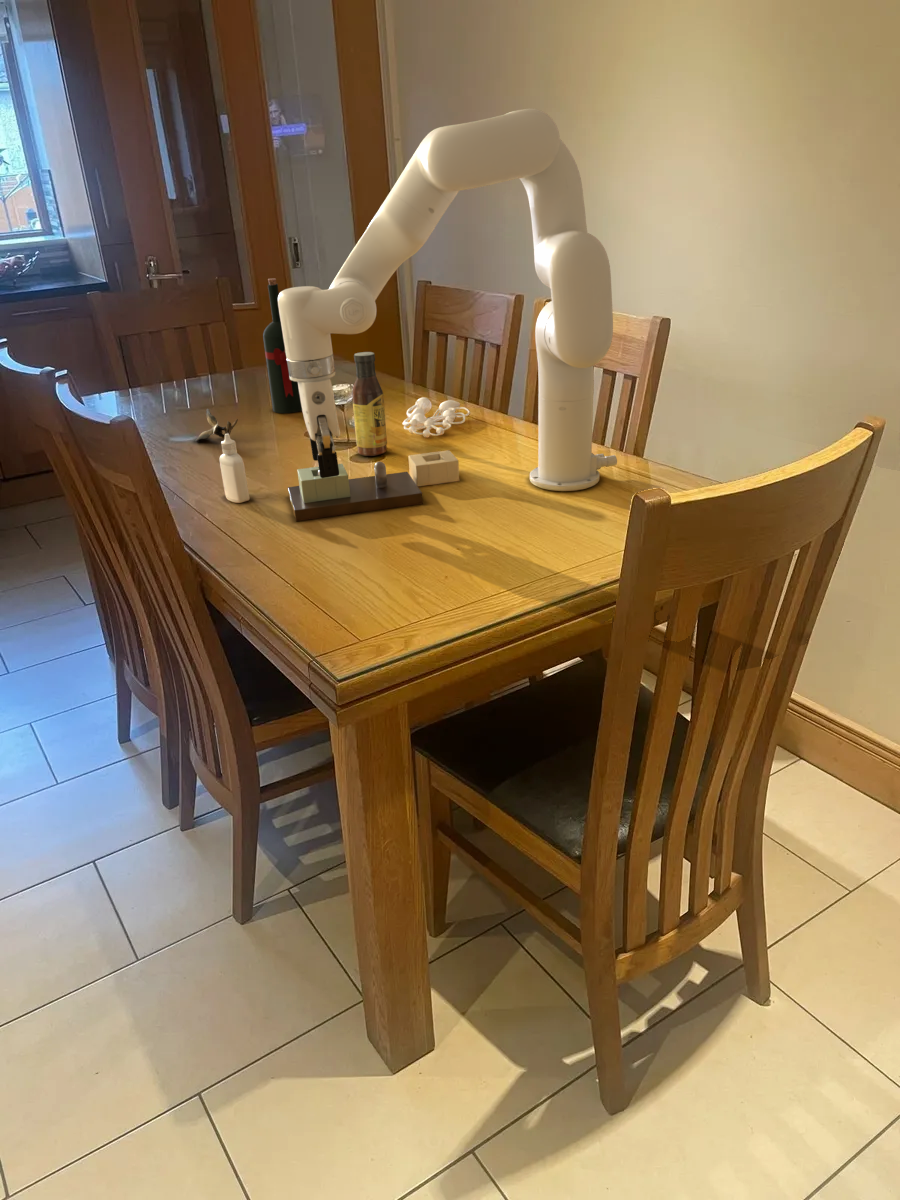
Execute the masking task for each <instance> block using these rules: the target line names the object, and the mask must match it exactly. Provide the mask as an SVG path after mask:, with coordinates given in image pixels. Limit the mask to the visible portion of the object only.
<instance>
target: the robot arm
mask: <svg viewBox="0 0 900 1200" xmlns="http://www.w3.org/2000/svg"><path fill="white" fill-rule="evenodd" d="M517 179H519V181H520V182H521V183H522V185H523V187H524V189H525V192H526V195H527V199H528V203H529V204H528V205H529V206H528V207H529V211H530V218H531V219H530V220H531V230H532V231H531V232H532V241H533V242H532V243H533V259H534V269H535V273H536V275H537V278H538V279H539V281H540V283H542V284H543V285H544V286H546V287H547V288H548V289H550V296H551V297H550V298H551V300H550V301H549V302H548V303H546V304H545V305H544V306H543V307H542V309H541V310H540V312H539V314H538V316H537V319H536V322H535V330H534V331H535V332H534V335H535V336H534V337H535V350H536V357H537V358H536V359H537V372H538V374H537V375H538V377H537V378H538V379H537V380H538V394H537V396H538V401H537V402H538V403H537V404H538V406H537V407H538V408H537V409H538V411H537V412H538V416H537V418H538V419H537V421H538V422H537V426H538V427H537V428H538V429H537V430H538V431H537V432H538V433H537V435H538V438H537V441H538V442H537V443H538V445H537V446H538V447H537V449H538V451H537V453H538V454H537V459H538V460H537V461H538V462H537V463H538V464H537V465H538V466H537V467H535V468H533V469H532V470H531V471H530V472H529V482H530V483H531V484H532V485H534V486H535V487H538V488H539V489H543V490H549V491H556V492H574V491H580V490H585V489H589V488H591V487H594V486H595V485H597V484H598V483H599V482H600V472H599V470H601V468H605V467H606V468H608V467H614V466H617V464H618V458H617V456H616V455H615V454H612V455H605V454H604V453H596V454H594V453H593V450H592V449H593V423H594V421H593V420H594V419H593V418H594V396H595V395H594V393H595V370H594V369H595V368H594V366H595V365H597V364H598V363H600V362H601V361H602V360H604V358H605V357H606V355H607V354H608V353H609V350H610V348H611V346H612V341H613V335H614V314H613V311H614V310H613V295H612V294H613V292H612V275H611V265H610V260H609V257H608V253H607V250H606V248H605V247H604V245H603V243H602V242H601V241H600V240H599V239H598V238H597V237H596V236H594V235H593V234H592V233H589V232H588V226H587V217H586V207H585V198H584V189H583V184H582V178H581V174H580V169H579V167H578V164H577V163H576V160H575V158H574V156H573V154H572V152H571V151H570V150H569V148H568V146H567V145H566V144H565V143H564V141H563V140H562V138H560V130H559V128H558V125H557V123H556V122H555V120H554V119H553V118H552V117H551V116H550V115H549V114H548V113H547V112H545V111H544V110H540V109H538V108H523V109H518V110H512V111H509V112H507V113H505V114H501V115H496V116H493V117H488V118H484V119H479V120H475V121H474V120H473V121H469V122H463V123H457V124H451V125H445V126H440V127H437V128H434V129H433V130H431V131H430V132H428V133H427V135H425V137H424V138H423V139H422V141H421V142H420V143H419V145H418V146H417V148H416V150H415V152H414V153H413V155H412V156H411V158H410V159H409V161H408V162H407V164H406V166H405V168H404V169H403V170H402V172H401V174H400V175H399V177H398V179H397V180H396V182H395V183H394V185H393V187H392V188H391V190H390V192H389V193H388V194H387V196H386V197H385V199H384V201H382V203H381V205H380V207H379V209H378V210H377V212H375V214H374V216H373V217H372V219H371V221H370V222H369V224H368V226H367V227H366V229H365V231H364V233H363V234H362V236H361V237H360V238H359V240H358V241H357V243H355V246H354V247H353V248H352V250H351V252H350V253H349V255H348V257H347V258H346V260H345V261H344V263H343V264H342V266H341V268H340V269H339V271H338V272H337V274H336V276H335V277H334V279H333V280H332V282H331V284H330V286H329V288H328V289H322V288H320V287H317V286H312V285H303V286H295V287H294V286H293V287H289V288H285V289H283V290H281V291H279V295H278V307H279V314H280V320H281V326H282V333H283V339H284V345H285V352H286V357H287V364H288V371H289V377H290V380H292V381H296V382H298V388H299V394H300V400H301V406H302V410H301V412H302V415H303V420H304V423H305V427H306V430H307V433H308V435H309V442H310V448H311V455H312V459H313V461H317V465H318V466H317V467H319V473H320V477H321V478H326V477H333V476H338V475H339V468H338V464H339V462H338V454H337V451H336V447H335V442H334V438H336V439H339V438H340V437H341V432H340V424H339V419H338V413H337V406H336V400H335V395H334V390H333V385H332V380H331V379H332V378H333V377H335V376H336V367H335V366H336V365H335V360H334V352H333V345H332V337H331V334H335V335H337V334H339V335H359V334H362V333H364V332H366V331H368V330H369V328H371V327H372V326H373V324H374V322H375V321H376V317H377V309H378V308H377V304H376V303H377V302H376V300H377V298H378V297H379V295H380V294H381V293H382V291H383V289H384V287H385V286H386V285H387V283H388V281H390V279H391V277H393V274H395V272H396V271H397V270H398V269H399V268H400V266H401V265H402V264H404V263H405V262H406V261H407V260H408V259H410V258H411V257H413V256H414V255H416V254H417V253H418V252H419V251H420V249H421V248H422V247H424V245H425V244H426V243H427V241H428V240H429V238H430V236H431V235H432V233H433V232H434V230H435V228H436V227H437V225H438V223H439V222H440V221H441V218H442V217H443V216H444V215H445V213H446V212H447V209H448V208H449V207H450V205H451V204H452V203H453V201H454V199H456V196H457V195H458V193H459V192H460V191H465V190H471V189H472V190H473V189H477V188H478V189H479V188H482V187H483V188H484V187H487V186H492V185H495V184H496V185H497V184H500V183H505V182H508V181H513V180H517Z"/></svg>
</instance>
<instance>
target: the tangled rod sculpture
mask: <svg viewBox="0 0 900 1200" xmlns="http://www.w3.org/2000/svg"><path fill="white" fill-rule="evenodd" d="M458 410H465V411H466V412H467V413H466V414H465V413H464V412H456V411H458ZM430 411H432V401H431V400H430V399H429V398H428V397H423V396H422V397H420V398H418V399H417V400H416V401H415V404H414V405H412V406H411V407H409V408H408V409H407V410H406V417H407V418H405V419H404V420H403V422H402V426H403V429H404V430H405V431H408V432H409V433H410V434H415V435H419V436H423V437H424V438H427V439H428V438H429V437H430V436H433V437H438V436H443V435H444V433H445V431H447V430H449V429H450V428H452V425H462V424H464V423H465V422H466V417H469V416H470V415H471V411H470V409H468V407H465V406H461V403H460V401H457V400H454V399H448V400H444V401H443V402H441V403H440V404H439V405H438V408H437V409H436V410H435V412H434V413H433V415H432V416H430V417H426V415H427V414H429V412H430ZM456 418H457V419H461V418H462V420H461V421H456ZM408 426H409V427H408ZM438 426H439V427H438ZM432 429H434V430H435V432H436V433H432V432H431V431H430V430H432ZM419 430H423V431H422V432H418V431H419Z"/></svg>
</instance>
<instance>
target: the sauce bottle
mask: <svg viewBox="0 0 900 1200" xmlns="http://www.w3.org/2000/svg"><path fill="white" fill-rule="evenodd" d="M353 359H354V363H355V369H356V373H355V375H356V379H355V382H354V383H353V385H352V389H351V390H352V391H351V393H352V394H351V395H352V411H353V421H354V422H353V423H354V433H355V443H356V447H357V453H358V454H359V455H361V456H364V457H374V456H375V457H376V456H380V455H382V454H385V453H387V448H388V447H387V446H388V435H387V423H386V411H385V409H386V408H385V398H384V397H385V396H384V391H383V389H382V387H381V384H380V382H379V380H378V378H377V372H376V365H375V362H376V355H375V352H372V351H363V352H357V353H354V355H353Z"/></svg>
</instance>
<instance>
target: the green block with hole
mask: <svg viewBox="0 0 900 1200" xmlns="http://www.w3.org/2000/svg"><path fill="white" fill-rule="evenodd" d="M338 468H339V475H338V476H333V477H326V478H321V477H320V476H317V473H318V471H319V466H311V467H305V468H298V469H296V471H297V478H298V486H299V487H300V492H301V495H302V498H303V501H304V503H309V502H316V501H323V500H331V499H339V498H346V497H350V488H349V479H350V478H349V474H348V472H347V469H346V468H345V466H344V464H343V463H338Z"/></svg>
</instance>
